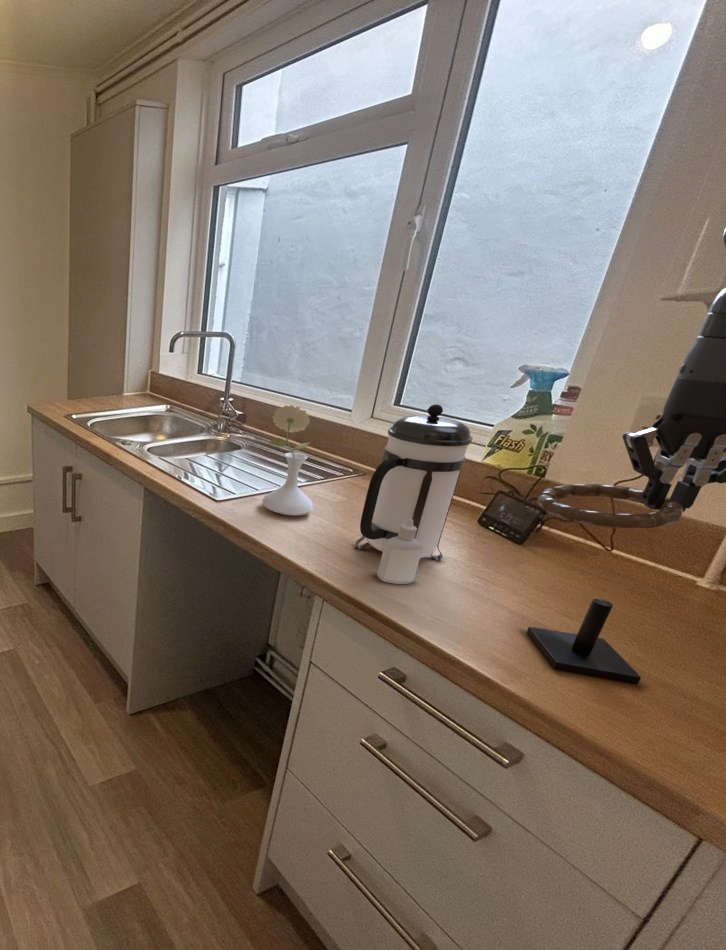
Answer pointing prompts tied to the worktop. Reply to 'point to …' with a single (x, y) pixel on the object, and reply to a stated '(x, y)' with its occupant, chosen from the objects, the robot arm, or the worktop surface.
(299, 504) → the flower in vase
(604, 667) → the stand
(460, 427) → the coffee press
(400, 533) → the eye dropper bottle
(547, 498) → the ring
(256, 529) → the worktop surface
